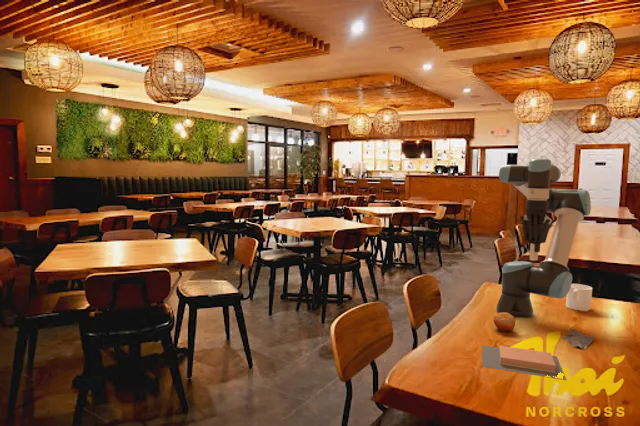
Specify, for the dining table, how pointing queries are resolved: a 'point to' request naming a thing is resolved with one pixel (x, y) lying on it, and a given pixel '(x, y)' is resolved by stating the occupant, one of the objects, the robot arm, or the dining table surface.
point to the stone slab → (578, 339)
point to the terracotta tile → (526, 359)
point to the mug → (579, 297)
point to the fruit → (504, 322)
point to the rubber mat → (493, 361)
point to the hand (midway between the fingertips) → (533, 259)
